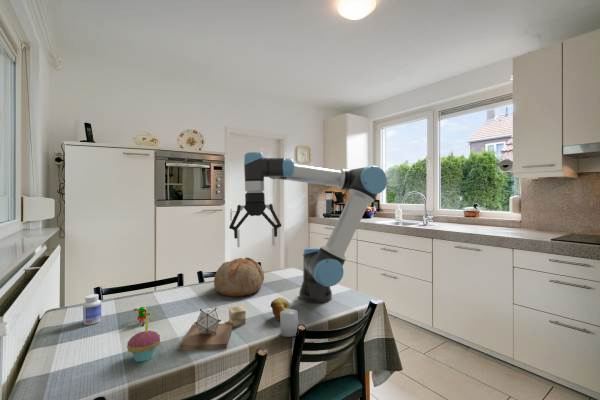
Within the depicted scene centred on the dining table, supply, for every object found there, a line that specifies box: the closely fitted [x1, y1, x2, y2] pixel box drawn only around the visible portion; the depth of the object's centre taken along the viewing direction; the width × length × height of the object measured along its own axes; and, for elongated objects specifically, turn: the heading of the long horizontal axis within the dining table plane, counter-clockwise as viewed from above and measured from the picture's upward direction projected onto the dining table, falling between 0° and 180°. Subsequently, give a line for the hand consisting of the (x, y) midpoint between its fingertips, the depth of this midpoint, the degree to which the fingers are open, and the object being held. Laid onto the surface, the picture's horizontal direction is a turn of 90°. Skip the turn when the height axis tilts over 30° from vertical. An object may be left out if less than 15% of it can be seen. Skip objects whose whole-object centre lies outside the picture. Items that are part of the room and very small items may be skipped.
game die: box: [193, 307, 222, 337], centre depth 95 cm, size 9×8×10 cm
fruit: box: [270, 297, 291, 321], centre depth 110 cm, size 8×8×8 cm
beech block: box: [228, 305, 247, 327], centre depth 107 cm, size 5×5×5 cm
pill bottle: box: [82, 293, 102, 326], centre depth 105 cm, size 5×5×10 cm
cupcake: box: [127, 312, 161, 363], centre depth 83 cm, size 9×8×12 cm
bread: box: [213, 257, 265, 298], centre depth 144 cm, size 26×23×15 cm
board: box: [179, 322, 234, 351], centre depth 95 cm, size 14×14×2 cm
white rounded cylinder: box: [279, 308, 299, 338], centre depth 99 cm, size 6×6×7 cm
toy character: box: [132, 306, 152, 327], centre depth 105 cm, size 11×12×7 cm
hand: (256, 245), depth 113 cm, fingers open, 13 cm apart
